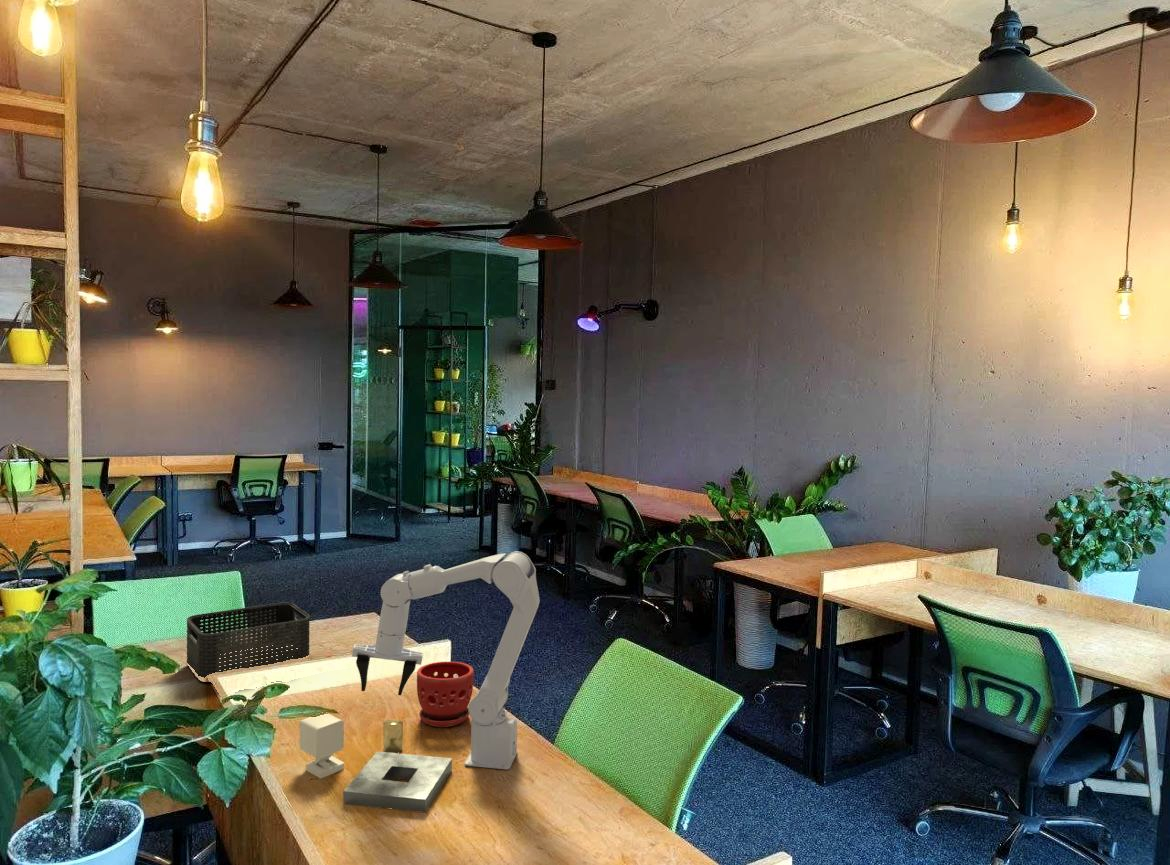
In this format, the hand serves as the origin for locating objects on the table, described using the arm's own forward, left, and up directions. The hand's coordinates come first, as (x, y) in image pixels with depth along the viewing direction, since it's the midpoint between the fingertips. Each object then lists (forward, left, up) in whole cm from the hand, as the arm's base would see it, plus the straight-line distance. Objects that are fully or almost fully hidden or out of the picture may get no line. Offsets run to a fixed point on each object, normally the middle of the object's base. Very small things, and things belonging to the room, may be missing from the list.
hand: (381, 691), depth 172 cm
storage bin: (+54, -40, -13) cm, 69 cm away
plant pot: (-9, -17, -13) cm, 23 cm away
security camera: (+8, +10, -13) cm, 18 cm away
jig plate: (-10, +14, -13) cm, 21 cm away
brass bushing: (-3, 0, -13) cm, 13 cm away
